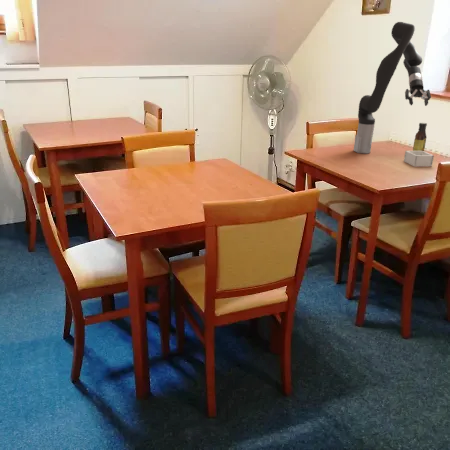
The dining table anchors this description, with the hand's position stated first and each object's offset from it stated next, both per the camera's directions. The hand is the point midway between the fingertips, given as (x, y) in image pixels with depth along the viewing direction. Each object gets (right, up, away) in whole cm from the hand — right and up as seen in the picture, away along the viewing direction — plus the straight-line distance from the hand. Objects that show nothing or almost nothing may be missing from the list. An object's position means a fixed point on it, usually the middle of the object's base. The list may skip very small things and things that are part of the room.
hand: (419, 104), depth 271 cm
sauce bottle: (-1, -31, 0) cm, 31 cm away
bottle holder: (-7, -37, -14) cm, 40 cm away
